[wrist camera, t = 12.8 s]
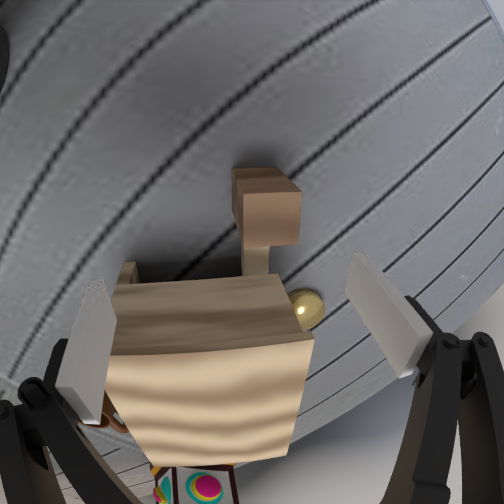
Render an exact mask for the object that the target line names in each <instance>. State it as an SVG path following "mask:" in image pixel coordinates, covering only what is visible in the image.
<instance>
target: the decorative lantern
mask: <svg viewBox="0 0 504 504" xmlns="http://www.w3.org/2000/svg"><path fill="white" fill-rule="evenodd" d="M234 464H235V463H229V464H218V465H204V466H180V467H154V466H153V464H152V463H151V462H150V470H151V473H152V474H153V476H154V478H155V488H154V490H153V493H154V497H155V499H156V504H239V500H238V494H237V489H236V483H235V477H234V471H233V467H234Z"/></svg>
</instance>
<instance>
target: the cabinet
mask: <svg viewBox="0 0 504 504" xmlns="http://www.w3.org/2000/svg"><path fill="white" fill-rule="evenodd" d="M111 304H112V307H113V310H114V313H115V315H116V318H117V323H116V328H115V332H114V337H113V343H112V348H111V353H110V359H109V365H108V371H107V377H106V383H105V391H106V393H107V395H108V396H109V398H110V400H111V402H112V403H113V405H114V407H115V409H116V410H117V412H118V414H119V415H120V417H121V418H122V420H123V422H124V423H125V425H126V426H127V428H128V430H129V431H130V433H131V434H132V436H133V437H134V439H135V440H136V442H137V443H138V445H139V446H140V448H141V449H142V451H143V452H144V453H145V455H146V456H147V458H148V459H149V460H150V462H151V463H152V464H153V466H154V467H180V466H204V465H218V464H229V463H238V462H247V461H254V460H261V459H268V458H274V457H279V456H285V455H286V454H287V451H288V447H289V444H290V440H291V436H292V433H293V429H294V425H295V422H296V418H297V414H298V410H299V406H300V402H301V398H302V394H303V390H304V386H305V381H306V377H307V373H308V368H309V364H310V359H311V355H312V350H313V345H314V340H315V338H314V336H313V334H312V332H311V331H308V332H303V330H302V328H301V326H300V323H299V321H298V319H297V316H296V314H295V312H294V309H293V307H292V305H291V302H290V300H289V298H288V295H287V293H286V291H285V289H284V286H283V284H282V282H281V279H280V277H279V275H278V273H277V274H265V275H253V276H241V277H228V278H215V279H202V280H188V281H173V282H158V283H142V284H140V280H139V275H138V271H137V266H136V261H130V262H124V264H123V267H122V270H121V272H120V275H119V278H118V281H117V284H116V287H115V290H114V293H113V296H112V299H111Z"/></svg>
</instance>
